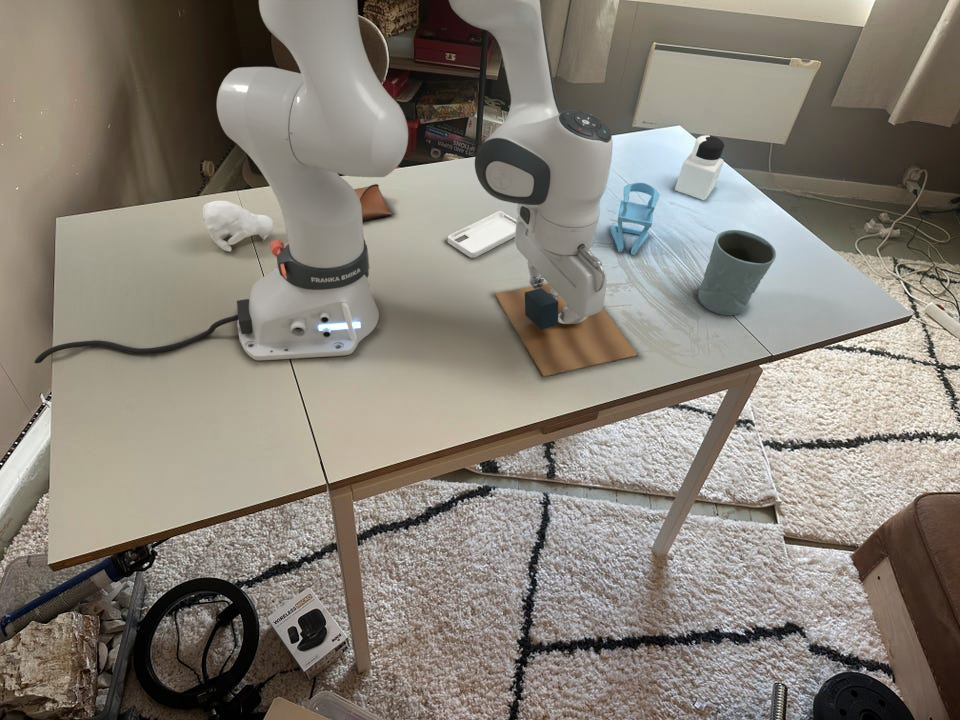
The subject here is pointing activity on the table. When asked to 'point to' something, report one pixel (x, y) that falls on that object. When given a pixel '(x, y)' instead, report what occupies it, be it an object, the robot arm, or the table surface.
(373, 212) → the sunglasses case
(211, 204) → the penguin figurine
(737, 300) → the grey-green cylindrical cup
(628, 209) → the chair
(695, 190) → the medicine bottle
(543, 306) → the watch
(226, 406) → the table surface
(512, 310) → the wooden board
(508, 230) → the phone case
